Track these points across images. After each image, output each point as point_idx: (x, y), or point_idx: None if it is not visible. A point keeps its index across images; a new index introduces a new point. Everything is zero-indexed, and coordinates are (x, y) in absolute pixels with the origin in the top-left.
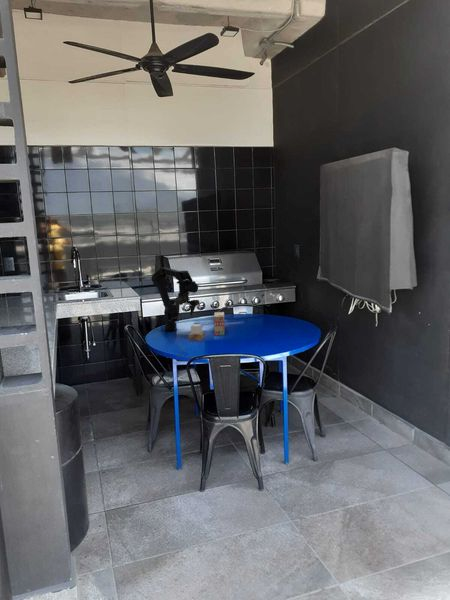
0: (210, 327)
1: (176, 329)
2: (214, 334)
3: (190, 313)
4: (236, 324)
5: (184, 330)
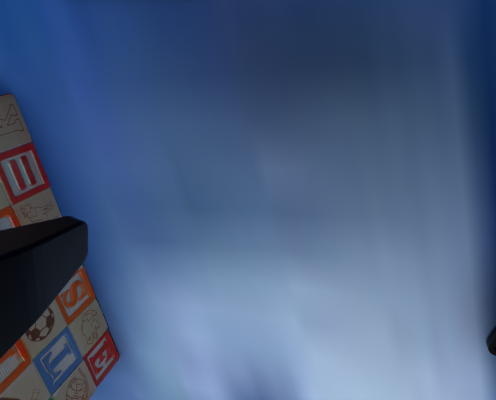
0: (153, 353)
1: (492, 334)
2: (6, 96)
3: (10, 247)
4: None
5: (379, 296)
